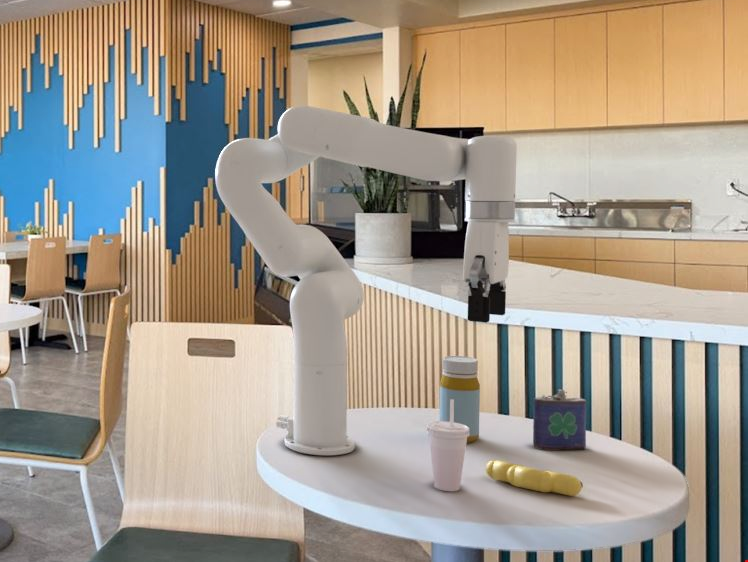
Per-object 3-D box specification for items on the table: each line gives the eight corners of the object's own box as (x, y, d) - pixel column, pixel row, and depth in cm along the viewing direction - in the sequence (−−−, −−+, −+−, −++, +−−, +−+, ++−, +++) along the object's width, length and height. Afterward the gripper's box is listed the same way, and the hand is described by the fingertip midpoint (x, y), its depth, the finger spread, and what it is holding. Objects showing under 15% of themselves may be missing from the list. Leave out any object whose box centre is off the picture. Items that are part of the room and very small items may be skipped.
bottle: (482, 436, 164) (483, 357, 164) (474, 445, 158) (475, 364, 158) (444, 430, 168) (445, 354, 167) (435, 439, 162) (436, 360, 161)
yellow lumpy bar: (480, 481, 139) (480, 461, 139) (489, 474, 142) (490, 455, 142) (576, 502, 130) (577, 481, 129) (584, 495, 133) (584, 474, 133)
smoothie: (464, 497, 132) (465, 406, 131) (421, 489, 135) (422, 400, 135) (472, 484, 137) (474, 397, 137) (430, 477, 141) (432, 392, 140)
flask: (581, 445, 158) (583, 387, 158) (589, 450, 155) (590, 391, 155) (530, 445, 158) (531, 387, 158) (537, 450, 156) (538, 391, 155)
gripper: (480, 211, 149) (477, 309, 150) (449, 213, 135) (447, 322, 136) (526, 212, 145) (524, 314, 146) (500, 214, 131) (497, 327, 132)
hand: (486, 317), depth 141 cm, fingers open, 9 cm apart
